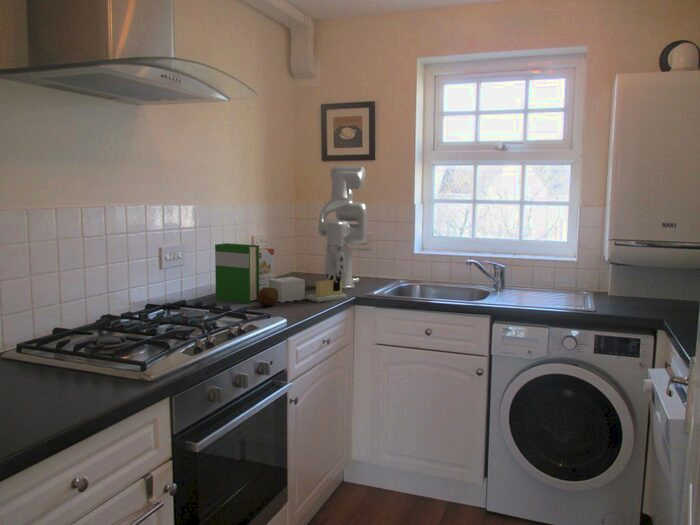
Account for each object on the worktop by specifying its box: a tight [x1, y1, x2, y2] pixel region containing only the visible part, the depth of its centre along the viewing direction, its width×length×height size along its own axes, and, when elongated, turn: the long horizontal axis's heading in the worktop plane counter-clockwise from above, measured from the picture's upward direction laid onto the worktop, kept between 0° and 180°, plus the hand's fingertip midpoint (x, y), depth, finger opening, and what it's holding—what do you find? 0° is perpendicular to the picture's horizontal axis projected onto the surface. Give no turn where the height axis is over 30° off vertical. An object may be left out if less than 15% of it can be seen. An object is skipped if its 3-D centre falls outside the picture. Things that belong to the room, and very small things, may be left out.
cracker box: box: [259, 247, 275, 292], centre depth 260 cm, size 14×6×21 cm, turn 143°
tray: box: [306, 293, 348, 303], centre depth 252 cm, size 16×8×2 cm, turn 128°
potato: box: [257, 287, 278, 307], centre depth 233 cm, size 7×10×8 cm
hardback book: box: [214, 242, 260, 304], centre depth 245 cm, size 18×7×24 cm, turn 64°
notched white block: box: [269, 276, 307, 303], centre depth 250 cm, size 13×11×9 cm
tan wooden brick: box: [315, 279, 343, 297], centre depth 252 cm, size 12×3×6 cm, turn 128°
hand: (334, 290), depth 254 cm, fingers closed on tan wooden brick, 3 cm apart
